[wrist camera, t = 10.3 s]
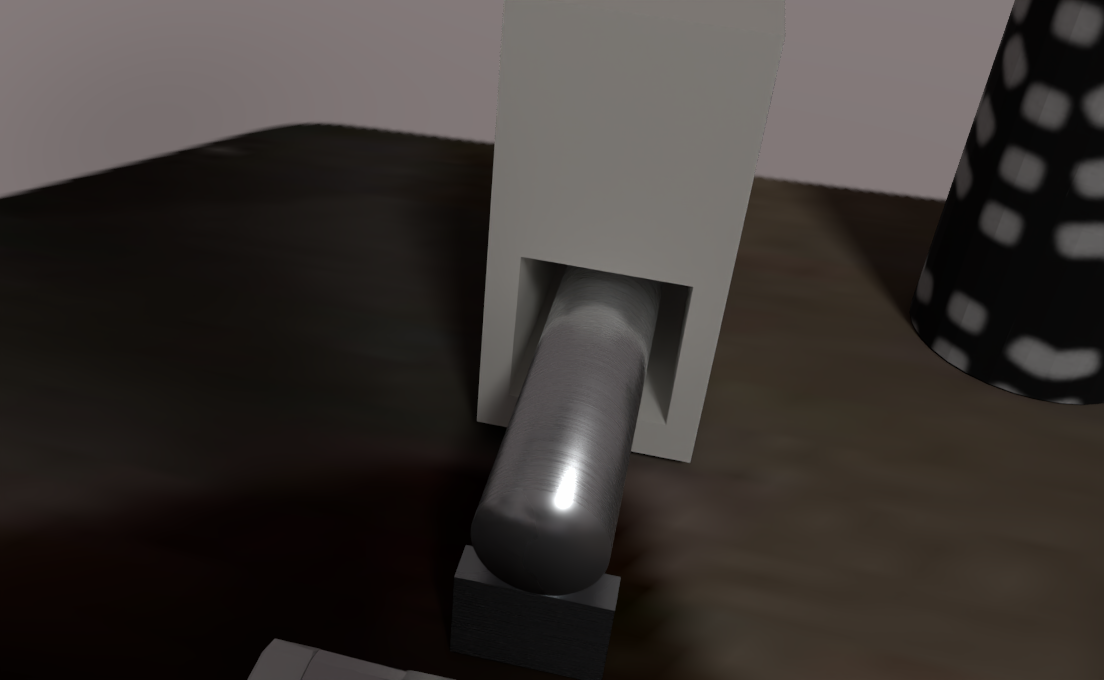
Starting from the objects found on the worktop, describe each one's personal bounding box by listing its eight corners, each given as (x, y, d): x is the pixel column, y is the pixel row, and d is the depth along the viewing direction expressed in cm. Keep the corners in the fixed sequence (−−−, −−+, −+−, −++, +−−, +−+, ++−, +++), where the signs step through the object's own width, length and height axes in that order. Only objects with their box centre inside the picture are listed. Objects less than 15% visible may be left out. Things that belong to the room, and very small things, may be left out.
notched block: (690, 462, 29) (785, 35, 22) (476, 421, 30) (504, -6, 23) (706, 320, 36) (784, -45, 29) (531, 288, 37) (565, -75, 30)
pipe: (631, 690, 23) (694, 397, 18) (421, 644, 24) (430, 347, 19) (698, 238, 42) (738, 36, 37) (581, 218, 43) (605, 16, 38)
